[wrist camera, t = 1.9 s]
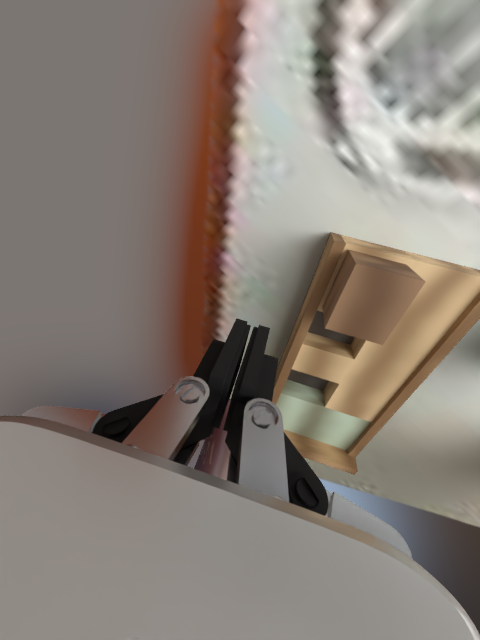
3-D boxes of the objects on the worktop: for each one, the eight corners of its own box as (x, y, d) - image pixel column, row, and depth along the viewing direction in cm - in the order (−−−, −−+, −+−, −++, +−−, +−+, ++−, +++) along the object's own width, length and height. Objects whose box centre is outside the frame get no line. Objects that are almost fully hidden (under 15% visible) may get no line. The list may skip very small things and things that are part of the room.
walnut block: (406, 264, 21) (425, 281, 17) (372, 321, 24) (382, 345, 20) (348, 249, 21) (356, 263, 18) (322, 307, 24) (324, 328, 21)
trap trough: (481, 270, 22) (527, 295, 17) (348, 437, 37) (354, 474, 33) (330, 232, 23) (336, 246, 19) (261, 409, 39) (255, 440, 34)
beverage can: (232, 425, 43) (201, 529, 30) (211, 403, 41) (169, 504, 28) (259, 417, 40) (238, 528, 27) (238, 393, 38) (205, 500, 26)
